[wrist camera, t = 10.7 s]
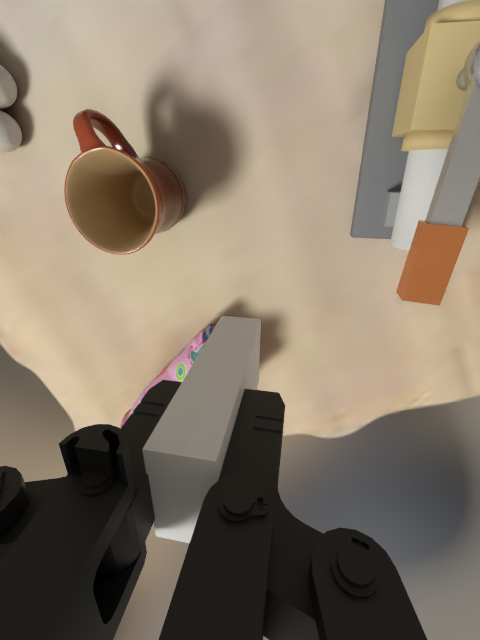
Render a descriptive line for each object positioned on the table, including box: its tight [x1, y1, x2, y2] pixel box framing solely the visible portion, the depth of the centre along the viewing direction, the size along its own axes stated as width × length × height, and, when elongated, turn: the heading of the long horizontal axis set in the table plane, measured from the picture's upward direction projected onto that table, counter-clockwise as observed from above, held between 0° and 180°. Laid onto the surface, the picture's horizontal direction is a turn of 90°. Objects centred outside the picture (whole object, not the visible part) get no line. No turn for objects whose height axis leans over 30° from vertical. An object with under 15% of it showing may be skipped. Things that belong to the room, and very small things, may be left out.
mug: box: [65, 109, 187, 254], centre depth 32 cm, size 12×9×10 cm
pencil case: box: [120, 324, 215, 429], centre depth 43 cm, size 21×9×9 cm, turn 139°
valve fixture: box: [350, 0, 480, 251], centre depth 24 cm, size 24×10×11 cm, turn 0°
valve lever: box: [397, 41, 480, 305], centre depth 21 cm, size 16×3×2 cm, turn 175°
